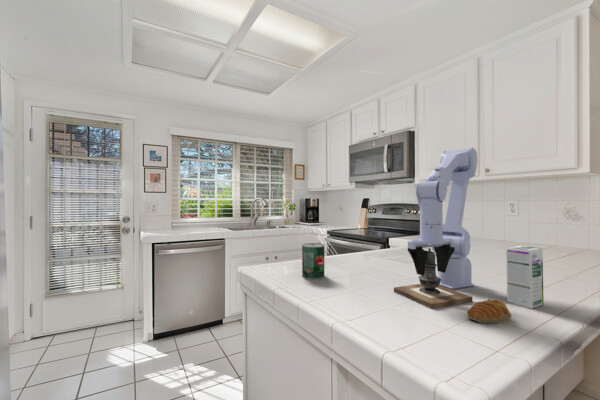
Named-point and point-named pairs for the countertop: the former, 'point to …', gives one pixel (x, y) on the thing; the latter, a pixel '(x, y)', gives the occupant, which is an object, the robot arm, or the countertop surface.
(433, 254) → the salt shaker
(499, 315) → the pastry
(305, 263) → the canned tomato
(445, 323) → the countertop surface
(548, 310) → the countertop surface
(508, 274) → the syrup box
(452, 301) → the walnut board
